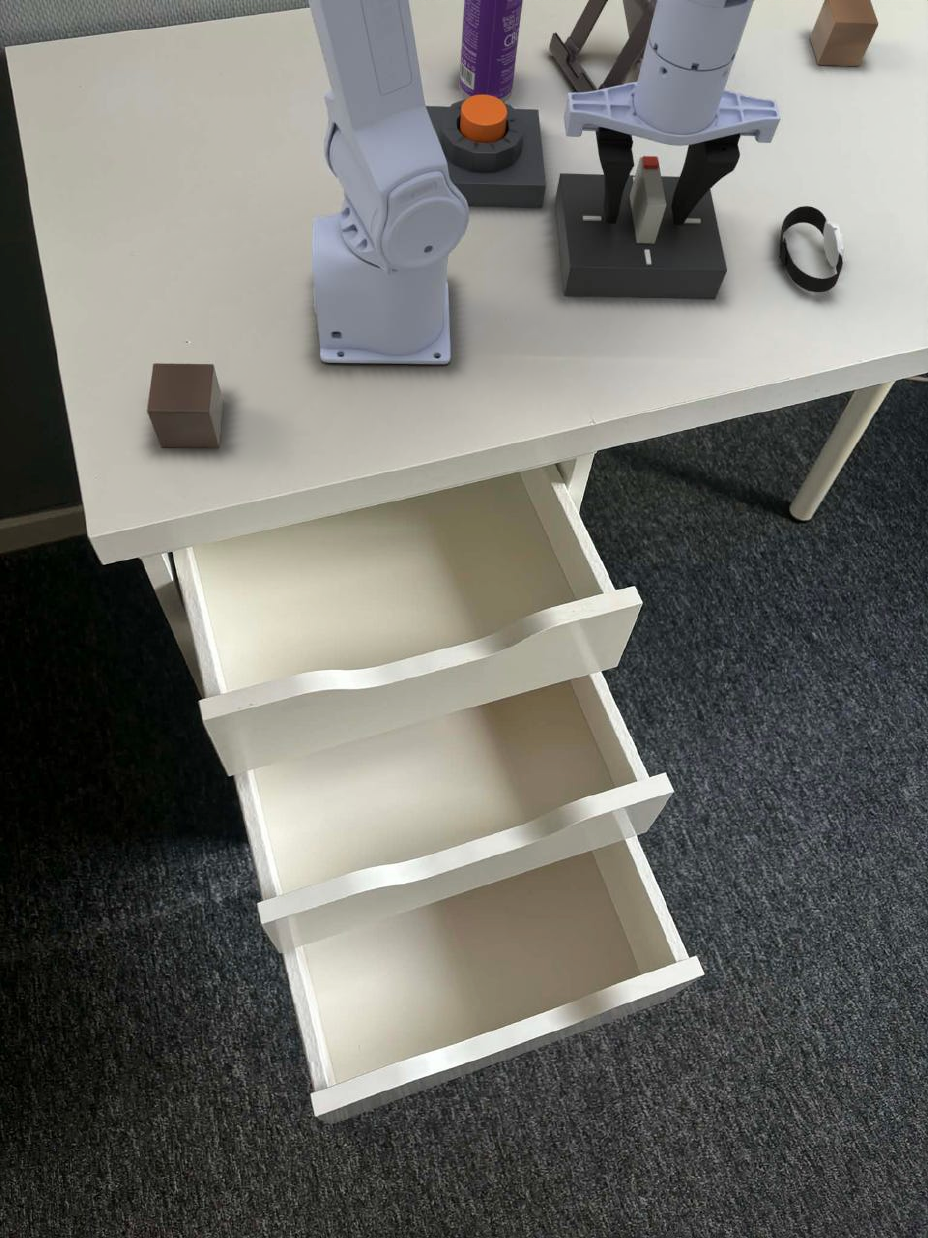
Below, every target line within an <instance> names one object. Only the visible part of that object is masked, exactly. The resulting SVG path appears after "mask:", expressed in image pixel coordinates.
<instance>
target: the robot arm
mask: <svg viewBox="0 0 928 1238" xmlns="http://www.w3.org/2000/svg"><path fill="white" fill-rule="evenodd" d="M307 1H308V5H309V9H310V12H311V16H312V20H313V24H314V28H315V33H316V35H317V36H316V37H317V39H318V43H319V47H320V52H321V54H322V59H323V63H324V66H325V70H326V73H327V77H328V78H327V79H328V81H329V85H330V89H329V90H328V91H327V92H326V93H325V94H324V96H323V100H324V103H325V106H326V111H327V128H326V131H325V137H324V141H323V153H324V158H325V162H326V165H327V166H328V168H329V169H330V171H331V173H333V175H334V177H335V178H336V179H337V180H338V182H339V183H340V185H341V187H342V189H343V201H342V205H341V210H340V211H337V212H334V213H329V214H326V215H318V216H313V220H312V233H311V250H312V251H311V252H312V253H311V258H312V259H311V260H312V279H313V309H314V313H315V314H316V319H317V329H318V340H319V348H320V349H319V356H320V357H319V358H320V360H321V361H322V362H324V363H328V364H329V363H332V364H335V363H336V364H394V365H395V364H397V365H398V364H401V365H402V364H403V365H404V364H405V365H446V364H449V363H450V362H451V359H452V357H451V356H452V354H451V353H452V352H451V351H452V349H451V327H450V325H451V324H450V323H451V322H450V304H449V303H450V302H449V301H450V300H449V299H450V297H449V283H448V281H447V276H448V260H449V255H450V254H451V253H452V252H453V250H455V249H456V247H457V246H458V245H459V244H460V243H461V241H462V239H463V237H464V236H465V234H466V231H467V229H468V226H469V223H470V208H469V207H470V206H468V204H467V201H466V199H465V197H464V196H463V194H462V193H461V192H460V191H459V190H458V188H457V187H456V186H455V185H454V184H453V183H452V181H451V180H450V177H449V172H448V165H447V161H446V158H445V155H444V153H443V150H442V147H441V145H440V142H439V140H438V137H437V135H436V132H435V129H434V127H433V124H432V122H431V119H430V117H429V114H428V111H427V109H426V106H427V105H426V101H425V94H424V89H423V83H422V82H423V81H422V76H421V70H420V69H421V68H420V62H419V56H418V51H417V45H416V39H415V31H414V25H413V19H412V13H411V7H410V0H307ZM754 2H755V0H657V3H656V7H655V11H654V16H653V20H652V24H651V28H650V32H649V36H648V40H647V44H646V48H645V52H644V56H643V59H641V65H640V69H639V74H638V76H637V81H632V82H627V83H623V85H619V86H614V87H610V88H605V89H601V90H596V91H590V92H581V93H578V92H567V98H566V103H565V110H564V115H563V119H564V120H563V122H564V123H563V124H564V130H565V136H566V138H567V137H568V138H580V137H581V136H582V134H583V131H584V132H595V137H596V145H597V152H598V157H599V162H600V166H601V169H602V172H603V175H604V176H605V197H604V213H605V220H606V223H607V224H615V223H616V220H617V218H618V214H619V209H620V204H621V199H622V194H623V191H624V188H625V185H626V182H627V180H628V177H629V175H631V172H632V171H633V170H634V169H633V168H635V160H634V154H633V153H634V152H633V145H634V140H633V136H634V137H637V138H641V139H644V140H648V141H652V142H655V143H659V144H661V145H662V144H663V145H667V146H674V147H676V146H677V147H685V146H687V151H686V154H685V159H684V162H683V167H682V168H681V169H682V170H681V172H680V175H679V176H678V177H679V180H678V183H677V186H676V189H675V192H674V195H673V200H672V205H671V209H672V214H673V220H674V225H683V224H684V222H685V221H686V219H687V218H688V216H689V215H690V213H691V212H692V210H693V209H694V208H695V206H696V205H697V204H698V202H699V201H700V200H701V199H702V197H703V196H704V195H705V194H706V193H707V192H708V191H709V190H711V189H712V188H713V187H714V186H715V185H716V184H717V183H718V182H719V181H721V180H722V179H723V178H725V177H726V176H728V175H729V174H730V173H732V172H734V171H735V169H736V167H737V165H738V162H739V160H740V157H741V152H740V147H739V141H740V139H741V137H754V140H755V141H756V142H757V143H759V144H771V143H772V141H773V138H774V136H775V133H776V131H777V129H778V127H779V123H780V122H781V115H780V110H779V107H778V103H777V100H776V99H771V98H770V99H768V98H761V97H755V96H752V95H751V96H750V95H747V94H742V93H739V92H735V91H732V90H728V89H726V86H727V83H728V79H729V77H730V73H731V71H732V67H733V64H734V61H735V58H736V56H737V53H738V50H739V48H740V45H741V41H742V38H743V35H744V32H745V28H746V26H747V23H748V20H749V17H750V13H751V11H752V8H753V5H754ZM437 357H438V358H437Z"/></svg>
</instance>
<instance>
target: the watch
mask: <svg viewBox="0 0 928 1238" xmlns="http://www.w3.org/2000/svg"><path fill="white" fill-rule="evenodd" d="M797 224H809V225H812V226H813V227H815V229H816V230H818V231H819V232H820V233H821V235H822V237H823V248H824V252H825V256H826V259H827V261H828V264H829V265H830V266H831V267H835V271H836V273H835V274H834V275H832V276H830V277H825V278H820V277H815V276H812V275H809V274H807V272H804V271H803V270H802V269H800V268H799V267H798V266H797V265H796V263H794V261H793V259H792V256H791V255H790V252H789V249H788V243H787V240H786V238H785V237H784V234H785V232H787V230H788V229H789V228H791V227H793V226H795V225H797ZM844 247H845V246H844V238H843V234H842V231H841V228H840V225H839V224H837V222H829V221H828V219H827V218H826V216H825V214H824V213H823V212H822V211H821V210H819V209H818V208H816V207H813V206H811V205H810V206H809V205H803V206H798V207H796V208H794V209H793V210H791V211H790V212H789V213H788V214H787V215H786V216H785V217H784V219H783V222H782V224H781V231H780V238H779V256H778V258H779V259H780V262H781V266H782V268H785V269H786V272H787V274H788V276H789V277H790V280H792V282H794V283H795V284H796V285H797V286H798V287H800V288H801V289H803V290H805V291H808V292H811V293H825V292H828V291H830V290H832V289H833V288H835V286H836V285H837V283H838V281H839V279H840V278H839V277H840V275H841V272H842V269H843V264H844V263H843V259H844V251H845V248H844Z"/></svg>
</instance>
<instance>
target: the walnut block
mask: <svg viewBox="0 0 928 1238" xmlns="http://www.w3.org/2000/svg"><path fill="white" fill-rule="evenodd" d="M151 371H152V372H151V377H150V385H149V391H148V392H149V393H148V400H147V409H146V412H147V415H148V417H149V420H150V423H151V426H152V428H153V430H154V433H155V435H156V438H157V441H158V444H159V446H160V447H161V448H217V449H218V448H220V443H221V433H222V424H223V423H222V421H223V410H224V398H223V394H222V391H221V387H220V383H219V379H218V375H217V371H216V369H215V365H214V363H163V362H162V363H153V364H152V370H151Z"/></svg>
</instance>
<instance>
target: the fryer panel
mask: <svg viewBox="0 0 928 1238" xmlns="http://www.w3.org/2000/svg"><path fill="white" fill-rule="evenodd" d="M635 175H636V174H634V175H633V174H630V175H629V177H628V180H627V182H626V185H625V188H624V191H623V194H622V199H621V204H620V209H619V214H618V218H617V220H616V223H615V224H607V223H606V220H605V213H604V197H605V176H604V174H599V173H596V174H595V173H567V172H566V173H565V172H561V173H559V175H558V176H559V177H558V181H557V182H558V183H557V187H556V193H555V198H554V211H555V212H554V214H555V222H556V223H555V224H556V232H557V242H558V253H559V261H560V270H561V271H560V272H561V278H562V279H561V280H562V281H561V282H562V290H563V296H564V297H584V298H588V297H589V298H590V297H591V298H637V299H638V298H641V299H642V298H643V299H648V298H649V299H685V300H687V299H691V300H693V299H694V300H716V298H717V296H718V294H719V292H720V289H721V286H722V284H723V282H724V280H725V278H726V275H727V272H728V269H727V268H728V267H727V263H726V257H725V253H724V249H723V248H724V247H723V244H722V239H721V234H720V229H719V225H718V224H719V223H718V218H717V215H716V210H715V204H714V199H713V195H712V194H713V193H712V190H711V189H710V190H709V191H708V192H707V193H706V194H705V195H704V196H703V197H702V199H701V200H700V201H699V202H698V204H697V205H696V206H695V208H694V209H693V210H692V212H691V213H690V215H689V216H688V218H687V219H686V221H685V222H684V224H683V225H674V220H673V214H672V209H671V205H672V200H673V195H674V192H675V189H676V186H677V183H678V180H679V177H680V176H670V175H669V176H668V175H661V177H662V183H663V189H664V194H665V200H666V208H665V211H664V215H663V218H662V221H661V224H660V228H659V231H658V234H657V237H656V240H655V243H654V244H649V243H637V241H636V234H635V228H634V221H633V215H632V208H631V202H630V193H631V190H632V186H633V182H634V178H635Z"/></svg>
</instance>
